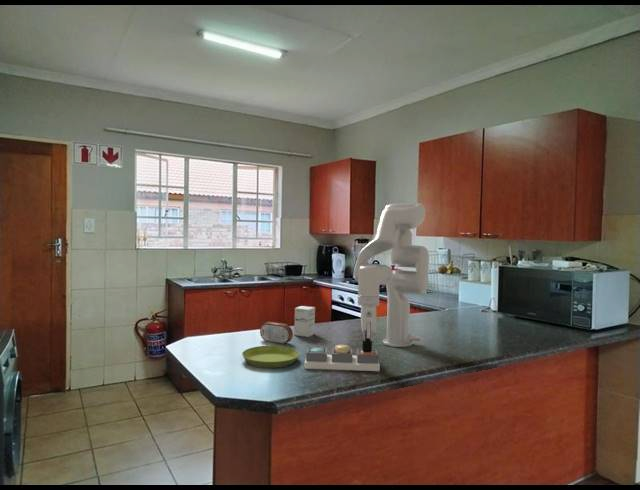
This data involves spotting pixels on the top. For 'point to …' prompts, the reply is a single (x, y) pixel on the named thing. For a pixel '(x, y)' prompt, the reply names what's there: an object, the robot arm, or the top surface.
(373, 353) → the brick button
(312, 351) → the teal button
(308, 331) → the supplement box
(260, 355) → the saucer
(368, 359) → the button panel
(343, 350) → the ochre button
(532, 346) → the top surface
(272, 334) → the tin
